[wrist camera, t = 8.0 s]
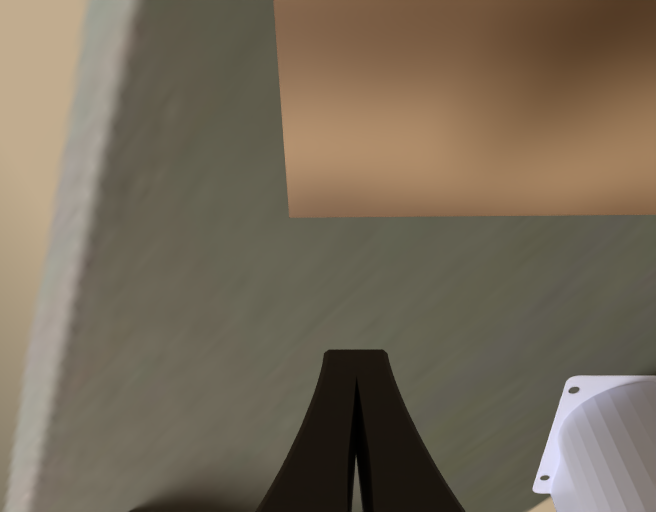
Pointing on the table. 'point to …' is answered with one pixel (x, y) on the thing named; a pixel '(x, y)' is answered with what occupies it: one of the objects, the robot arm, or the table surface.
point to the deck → (468, 107)
